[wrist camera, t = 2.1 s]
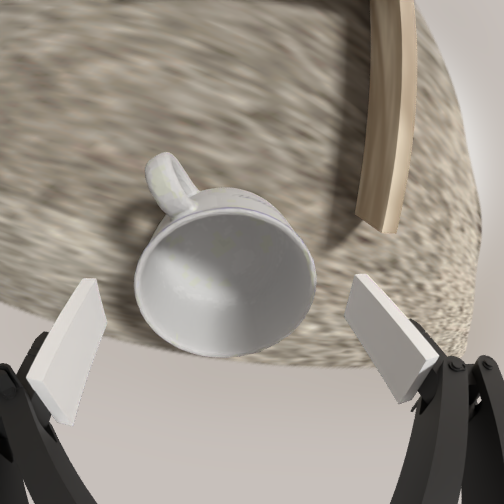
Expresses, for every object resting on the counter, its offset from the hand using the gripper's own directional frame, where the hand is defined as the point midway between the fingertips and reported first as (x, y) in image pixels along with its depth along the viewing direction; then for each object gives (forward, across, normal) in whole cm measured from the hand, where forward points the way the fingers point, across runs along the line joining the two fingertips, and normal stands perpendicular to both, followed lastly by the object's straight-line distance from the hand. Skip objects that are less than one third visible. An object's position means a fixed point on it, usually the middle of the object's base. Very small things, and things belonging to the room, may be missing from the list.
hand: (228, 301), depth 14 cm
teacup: (+10, 0, 0) cm, 10 cm away
